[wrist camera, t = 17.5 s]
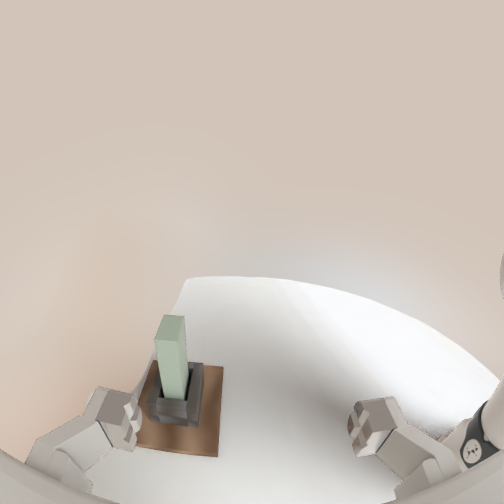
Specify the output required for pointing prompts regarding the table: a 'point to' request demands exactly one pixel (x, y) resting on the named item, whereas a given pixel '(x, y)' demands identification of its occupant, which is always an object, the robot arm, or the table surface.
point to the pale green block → (173, 357)
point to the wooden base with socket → (182, 413)
